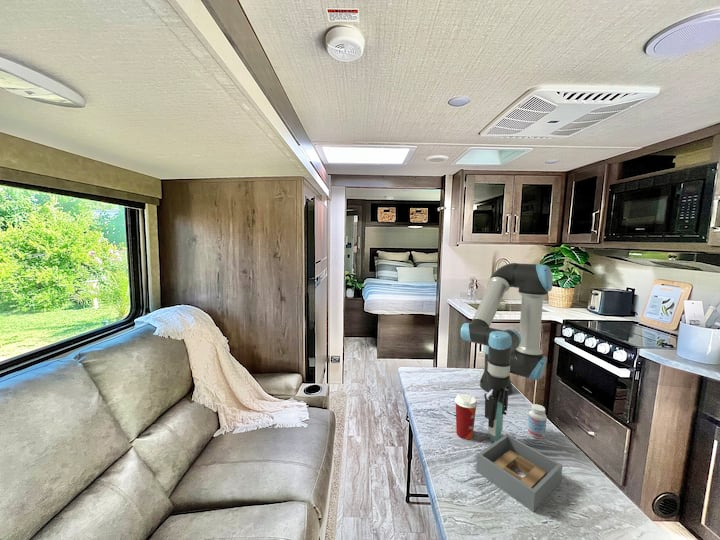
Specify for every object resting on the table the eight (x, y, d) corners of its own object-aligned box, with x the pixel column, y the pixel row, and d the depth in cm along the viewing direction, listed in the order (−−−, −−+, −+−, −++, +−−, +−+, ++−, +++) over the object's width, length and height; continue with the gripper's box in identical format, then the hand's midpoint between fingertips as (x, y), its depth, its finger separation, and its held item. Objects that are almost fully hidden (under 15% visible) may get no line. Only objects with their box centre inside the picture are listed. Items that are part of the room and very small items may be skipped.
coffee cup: (477, 443, 112) (479, 405, 110) (454, 440, 114) (456, 403, 112) (473, 429, 120) (475, 393, 119) (452, 426, 122) (453, 391, 120)
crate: (505, 449, 109) (506, 433, 108) (560, 482, 94) (562, 464, 94) (476, 471, 99) (477, 454, 98) (533, 512, 84) (534, 492, 83)
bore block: (509, 457, 105) (509, 449, 104) (546, 480, 95) (546, 471, 95) (490, 472, 98) (490, 464, 98) (527, 499, 88) (528, 490, 88)
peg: (492, 433, 116) (494, 399, 115) (502, 438, 113) (504, 404, 112) (487, 437, 114) (488, 402, 112) (496, 442, 111) (498, 407, 109)
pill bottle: (525, 434, 117) (527, 407, 116) (529, 427, 122) (531, 401, 120) (543, 441, 113) (545, 413, 112) (546, 433, 117) (549, 407, 116)
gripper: (501, 364, 118) (498, 418, 121) (475, 375, 109) (473, 434, 112) (520, 371, 112) (516, 428, 115) (494, 384, 103) (491, 446, 106)
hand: (495, 431), depth 113 cm, fingers closed on peg, 4 cm apart
